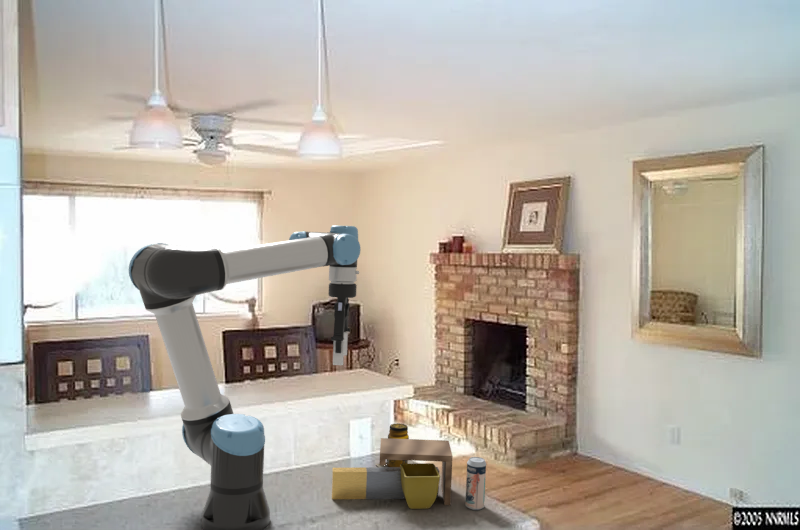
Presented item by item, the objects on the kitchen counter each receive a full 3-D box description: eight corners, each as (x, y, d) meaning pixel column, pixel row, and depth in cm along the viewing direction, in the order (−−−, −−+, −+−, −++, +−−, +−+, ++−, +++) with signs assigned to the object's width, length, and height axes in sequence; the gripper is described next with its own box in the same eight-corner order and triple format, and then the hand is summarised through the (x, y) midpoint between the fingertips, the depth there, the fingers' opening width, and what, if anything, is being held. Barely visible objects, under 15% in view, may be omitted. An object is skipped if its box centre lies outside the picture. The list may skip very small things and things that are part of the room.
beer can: (461, 504, 166) (463, 457, 166) (477, 501, 168) (479, 455, 168) (471, 512, 162) (473, 463, 161) (488, 509, 164) (490, 461, 163)
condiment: (413, 468, 190) (415, 427, 190) (388, 473, 186) (390, 431, 185) (399, 460, 196) (401, 420, 196) (374, 465, 192) (376, 424, 191)
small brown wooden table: (378, 502, 166) (379, 453, 165) (379, 484, 178) (380, 438, 177) (450, 505, 166) (452, 455, 165) (446, 486, 178) (448, 440, 177)
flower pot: (439, 512, 161) (440, 476, 161) (403, 513, 160) (404, 476, 160) (432, 497, 170) (433, 463, 170) (398, 498, 169) (399, 463, 168)
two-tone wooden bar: (331, 499, 167) (332, 472, 166) (331, 494, 170) (332, 467, 169) (438, 498, 170) (439, 471, 170) (436, 493, 173) (437, 466, 173)
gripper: (353, 286, 169) (350, 369, 170) (359, 279, 194) (356, 351, 195) (324, 285, 169) (321, 368, 170) (333, 278, 193) (330, 350, 195)
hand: (340, 359), depth 182 cm, fingers open, 13 cm apart
